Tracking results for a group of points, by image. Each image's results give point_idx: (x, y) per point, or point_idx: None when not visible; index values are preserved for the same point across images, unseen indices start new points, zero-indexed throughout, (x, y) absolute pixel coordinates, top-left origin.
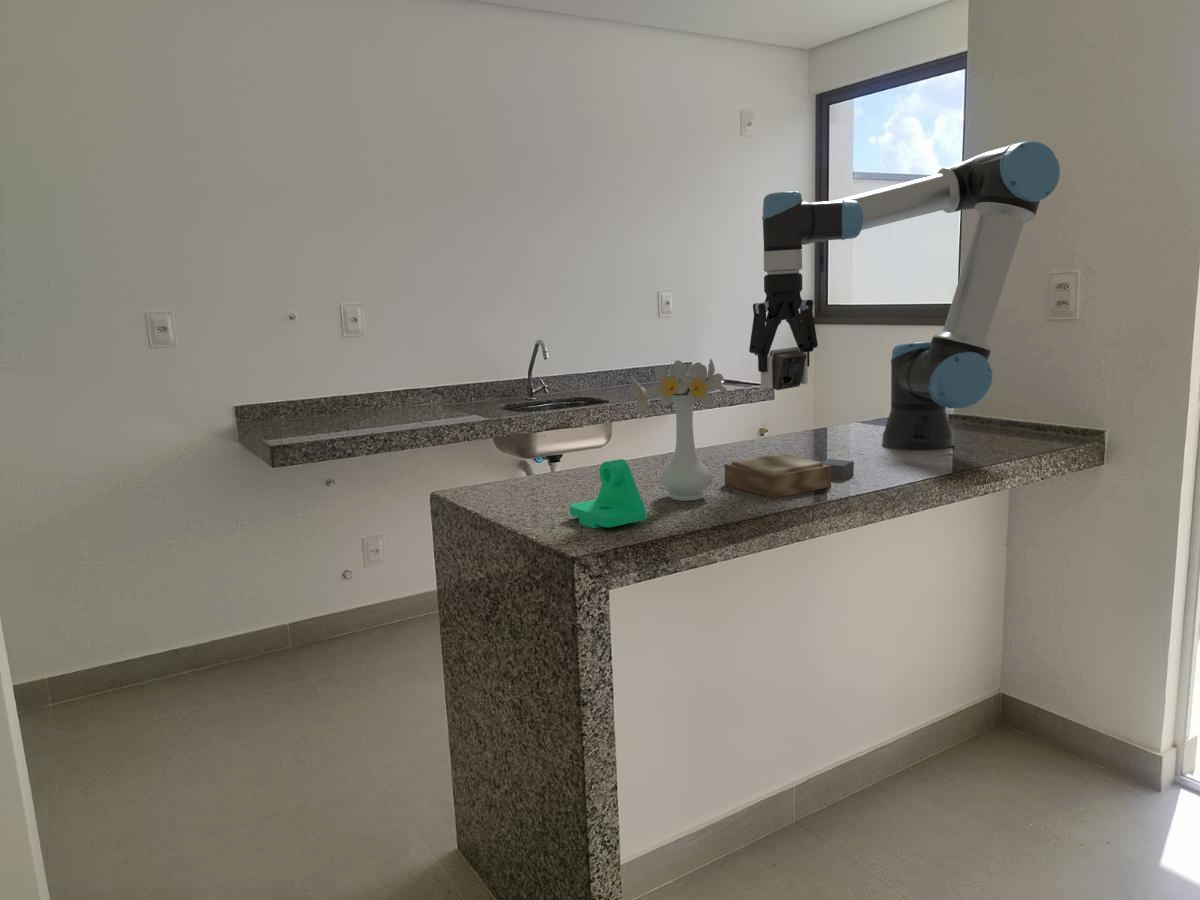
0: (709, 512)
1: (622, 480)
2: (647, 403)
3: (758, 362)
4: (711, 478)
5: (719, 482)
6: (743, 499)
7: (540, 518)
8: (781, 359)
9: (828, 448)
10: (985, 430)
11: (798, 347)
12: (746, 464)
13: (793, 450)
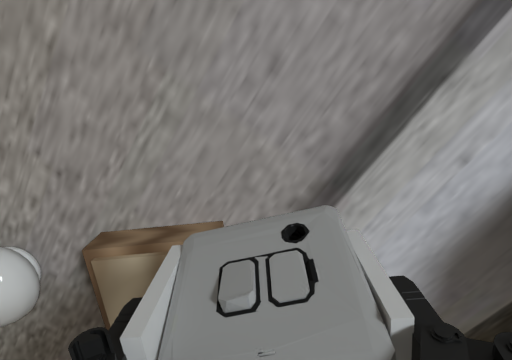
0: (23, 344)
1: None
2: None
3: (109, 333)
4: (31, 309)
5: (99, 213)
6: (91, 316)
7: None
8: None
9: (468, 61)
10: None
11: (420, 345)
12: (104, 295)
13: (390, 31)
